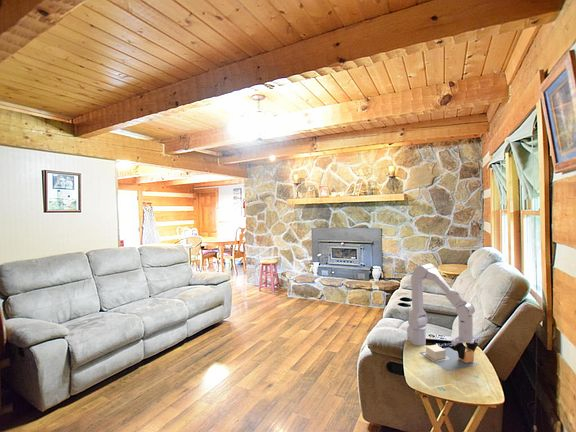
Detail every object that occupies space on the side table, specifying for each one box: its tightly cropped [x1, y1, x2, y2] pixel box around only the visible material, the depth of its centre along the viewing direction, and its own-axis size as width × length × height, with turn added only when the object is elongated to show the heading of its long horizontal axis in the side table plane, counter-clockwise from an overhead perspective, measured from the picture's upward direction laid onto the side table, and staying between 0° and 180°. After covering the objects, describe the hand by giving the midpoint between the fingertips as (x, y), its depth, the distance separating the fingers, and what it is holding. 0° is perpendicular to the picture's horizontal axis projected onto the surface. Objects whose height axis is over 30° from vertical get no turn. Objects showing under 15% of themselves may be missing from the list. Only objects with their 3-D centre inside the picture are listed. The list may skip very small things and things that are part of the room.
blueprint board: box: [419, 346, 480, 372], centre depth 146 cm, size 18×18×1 cm
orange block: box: [458, 346, 475, 363], centre depth 143 cm, size 4×4×5 cm
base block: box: [425, 344, 446, 360], centre depth 148 cm, size 6×6×4 cm
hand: (465, 357), depth 143 cm, fingers closed on orange block, 4 cm apart
